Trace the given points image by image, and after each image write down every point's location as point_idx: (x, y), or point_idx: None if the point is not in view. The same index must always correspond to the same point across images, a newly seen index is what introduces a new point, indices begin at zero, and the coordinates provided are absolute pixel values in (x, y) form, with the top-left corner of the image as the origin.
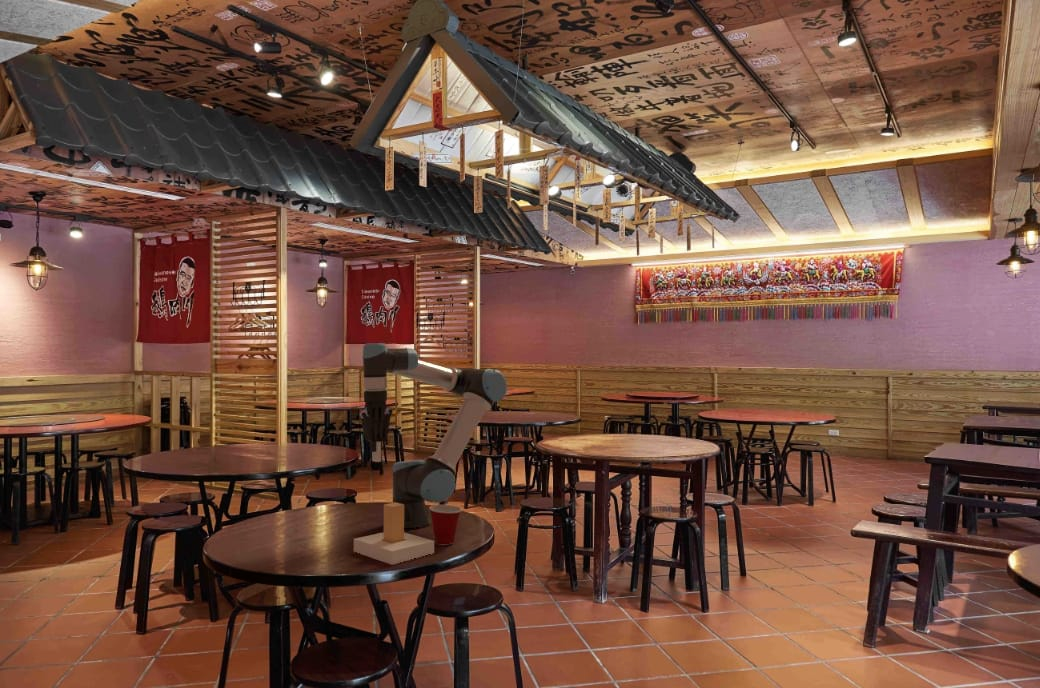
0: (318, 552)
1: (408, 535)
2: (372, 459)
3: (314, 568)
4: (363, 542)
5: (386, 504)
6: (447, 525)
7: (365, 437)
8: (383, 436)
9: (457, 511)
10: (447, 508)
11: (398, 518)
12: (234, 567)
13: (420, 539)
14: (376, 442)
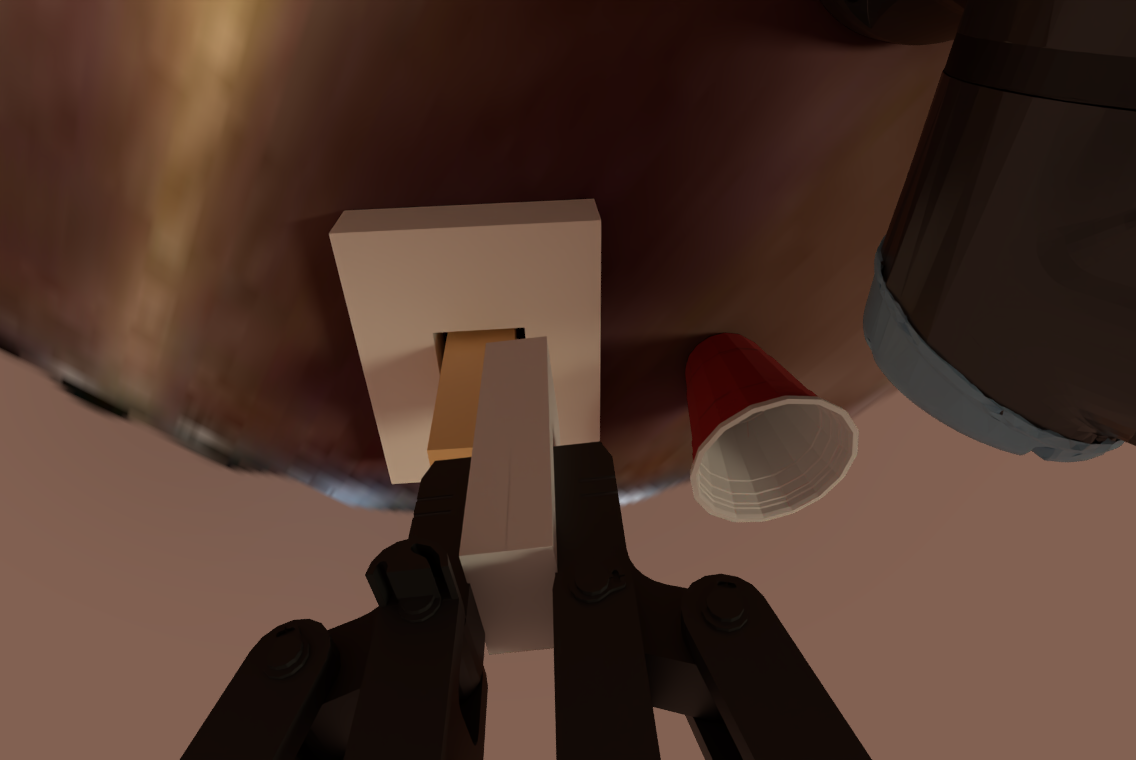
0: (170, 92)
1: (577, 351)
2: (485, 361)
3: (105, 317)
4: (349, 312)
5: (442, 455)
6: (714, 458)
7: (235, 707)
8: (684, 696)
9: (767, 519)
10: (832, 412)
11: None
12: None
13: (573, 427)
14: (485, 637)
